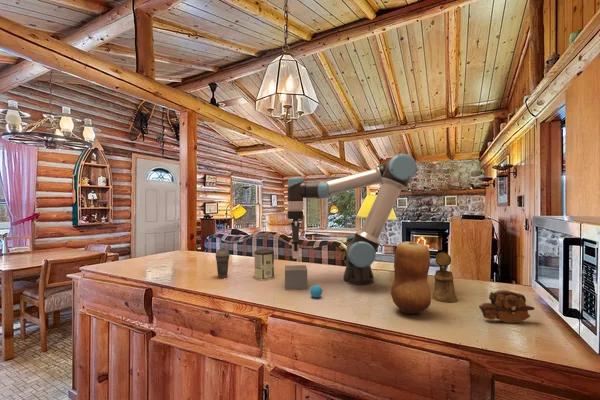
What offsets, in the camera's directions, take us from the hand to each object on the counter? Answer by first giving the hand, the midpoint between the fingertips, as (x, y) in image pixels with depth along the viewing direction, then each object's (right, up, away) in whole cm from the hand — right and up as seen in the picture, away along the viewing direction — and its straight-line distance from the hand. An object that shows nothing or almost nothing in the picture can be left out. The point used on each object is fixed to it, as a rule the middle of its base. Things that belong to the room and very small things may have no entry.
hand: (295, 255), depth 134 cm
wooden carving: (+70, -14, -41) cm, 83 cm away
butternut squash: (+42, -14, -32) cm, 55 cm away
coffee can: (-17, -15, +16) cm, 27 cm away
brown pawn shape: (+62, -14, -16) cm, 66 cm away
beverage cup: (-39, -15, +16) cm, 44 cm away
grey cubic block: (0, -15, 0) cm, 15 cm away
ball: (+9, -12, -16) cm, 22 cm away
